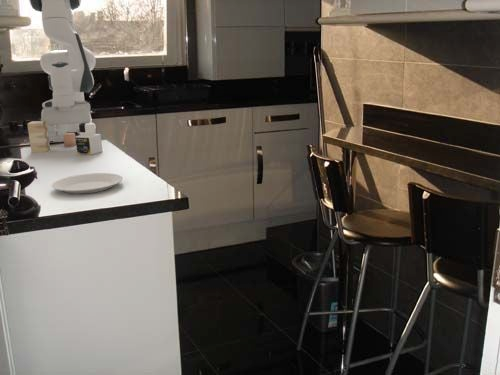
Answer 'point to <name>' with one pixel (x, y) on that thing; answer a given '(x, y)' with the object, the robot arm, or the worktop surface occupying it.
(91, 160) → the worktop surface
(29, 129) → the tower top
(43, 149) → the tower base
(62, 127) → the supplement box
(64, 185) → the plate
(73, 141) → the pink rounded cylinder
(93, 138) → the medicine bottle
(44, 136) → the tower mid
